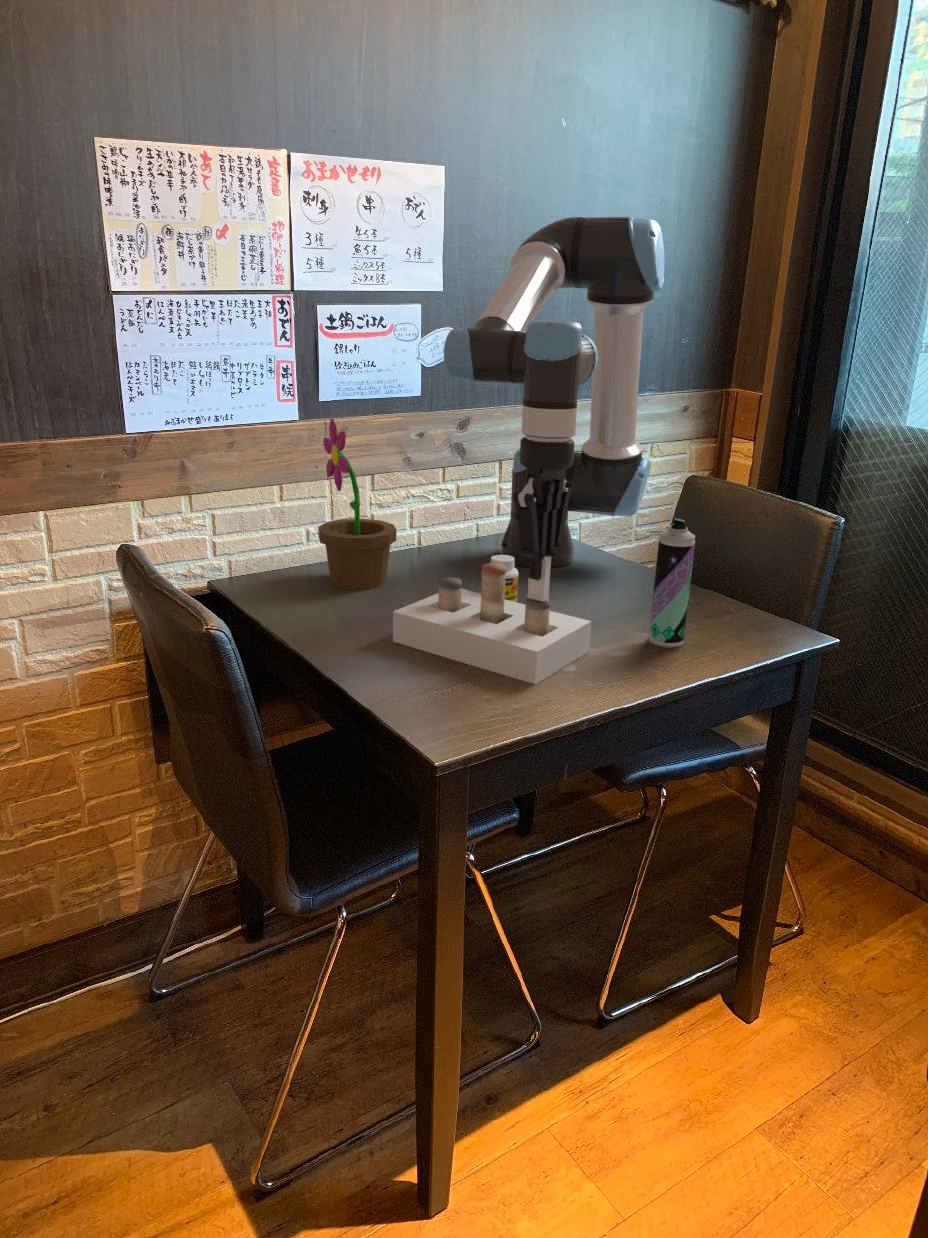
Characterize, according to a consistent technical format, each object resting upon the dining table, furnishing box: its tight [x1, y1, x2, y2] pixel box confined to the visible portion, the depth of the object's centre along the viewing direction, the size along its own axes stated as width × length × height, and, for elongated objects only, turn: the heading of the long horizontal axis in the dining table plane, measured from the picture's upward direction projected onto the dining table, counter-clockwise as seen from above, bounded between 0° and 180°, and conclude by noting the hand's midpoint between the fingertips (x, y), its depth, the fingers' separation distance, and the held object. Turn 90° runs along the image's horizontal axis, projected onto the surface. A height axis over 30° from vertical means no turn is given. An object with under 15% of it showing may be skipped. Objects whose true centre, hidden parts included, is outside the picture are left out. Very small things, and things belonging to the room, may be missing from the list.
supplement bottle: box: [490, 554, 519, 603], centre depth 156 cm, size 6×6×10 cm
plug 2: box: [480, 562, 506, 624], centre depth 142 cm, size 4×4×9 cm
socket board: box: [392, 588, 593, 685], centre depth 144 cm, size 16×26×5 cm, turn 55°
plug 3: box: [524, 596, 551, 637], centre depth 139 cm, size 4×4×9 cm
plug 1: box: [438, 576, 463, 613], centre depth 147 cm, size 4×4×9 cm
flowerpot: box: [318, 418, 397, 591], centre depth 168 cm, size 14×14×30 cm
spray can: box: [648, 517, 696, 648], centre depth 146 cm, size 6×6×20 cm
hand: (537, 598), depth 137 cm, fingers closed
